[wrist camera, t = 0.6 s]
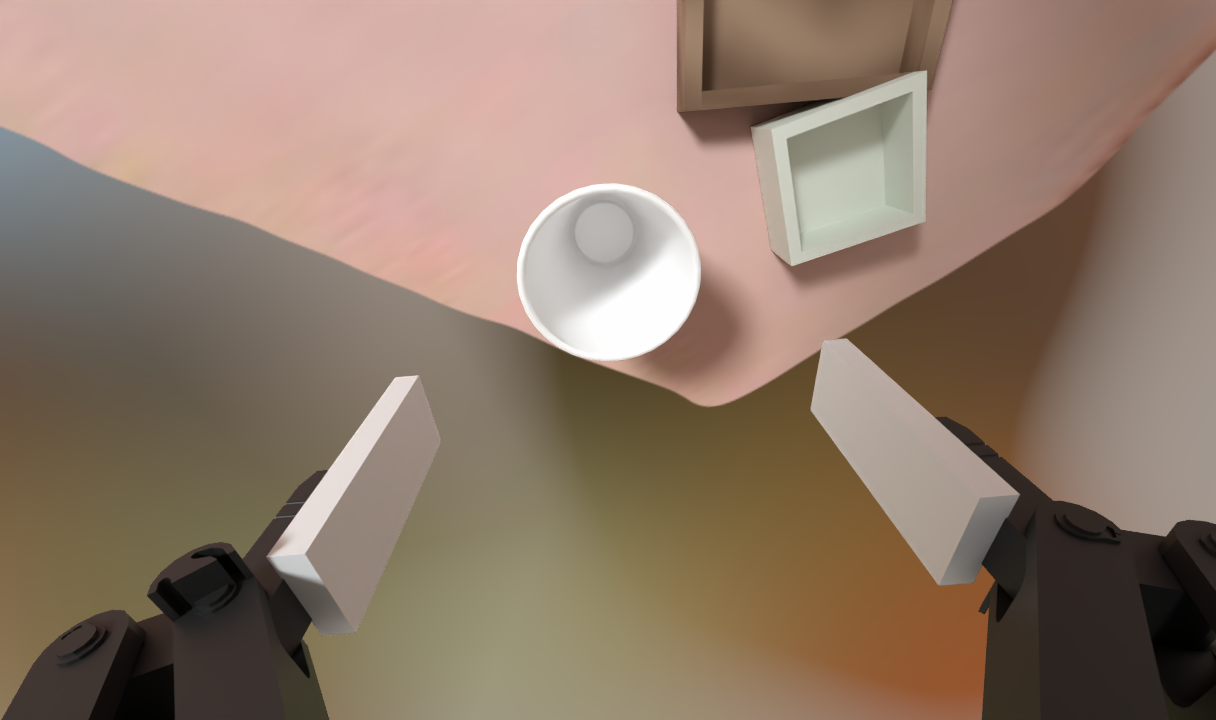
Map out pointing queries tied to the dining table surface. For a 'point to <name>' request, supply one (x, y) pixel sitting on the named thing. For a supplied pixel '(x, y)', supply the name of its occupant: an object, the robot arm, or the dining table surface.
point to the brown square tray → (801, 48)
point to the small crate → (844, 169)
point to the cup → (609, 272)
